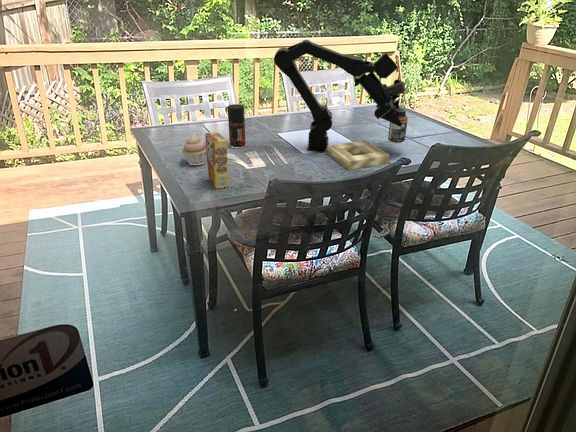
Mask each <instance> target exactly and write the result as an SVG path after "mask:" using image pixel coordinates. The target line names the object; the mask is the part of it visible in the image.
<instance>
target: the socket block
mask: <svg viewBox="0 0 576 432" xmlns="http://www.w3.org/2000/svg"><path fill="white" fill-rule="evenodd" d="M326 154H327V155H328V156H329V157H331V158H332V159H333V160H334V161H336V162H337V163H339V164H340V165H341V166H342V167H343V168H345V169H346V170H348V171H350V170H357V169H362V168H368V167H375V166H381V165H386V164H389V163H390V154H389V153H387V152H385V151H384V150H383V149H381V148H379V147H378V146H376V145H374V144H373V143H371V142H369V141H367V140H359V141H351V142H345V143H339V144H331V145H328V146H327V149H326Z"/></svg>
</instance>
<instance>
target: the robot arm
mask: <svg viewBox="0 0 576 432" xmlns="http://www.w3.org/2000/svg"><path fill="white" fill-rule="evenodd" d="M304 55H309V56H312V57H314V58H316V59H319V60H321V61H325V62H327V63H330V64H332V65H335V66H337V67H339V68H340V69H342V70H343V71H345V72H346V73H348V74H349V75H351V76H352V77H355V78H354V85H353V86H354V87H355V88H356V87H357V86H359V85H361V87H362V88H363V89H364V91H366V93H367V94H368V96H369V97H368V99H370V100H369V101H371V100H373V102H374V104H375V105H376V106H375V107H376V109H375V110H374V117H375V118H376V119H377V120H379V119H382V120H385V121H387V122H389V123H390V122H391V123H393V124H395V125H397V126H399V127H400V126H402V123H401V121H400V119H399V118H398V116H397V114H396V112H395V109H396V108H401V107H400V100H401V98H400V97H401V94H404V93H406V91H407V90H406V86H405V85H406V83H405V82H404V80H401V79H400V78H398V79H394V80H393V84H390V85H387V84H386V83H382V82H381V80H380V79H387V78H388V77H390V76H391V75H392V74H393V73H394V72H396V70H398V69H399V66H398V65H397V63H396V62H395V61H394V59H392V58H391V57H390V56H389V55H388V53H387V52H384V53H383V54H381V56H380V57H379V58H378V59H376V61H374V62H373V61H368V60H364V59H363V58H362V57H361V56H358V55H354V54H345V53H340V52H338V51H335V50H333V49H330V48H328V47H325V46H323V45H320V44H317V43H315V42H312V41H311V40H310V39H303V40H302V41H300V42H298V43H296V44H293V45H290V46H288V47H280V48H278V49H277V51H275V54H274V57H273V61H274V64H275V65H276V67H278V68H279V70H280V71H281V72H282V73H283V74H284V75H285V76H287V77H288V78H289V80H290V82H291V83H292V84H293V86H294V88H295V89H296V90H297V92H298V94H299V95H300V97H301V98H302V100H303V102H304V103H305V104H306V106H307V107H308V109H309V111H310V113H311V116H312V120H313V121H312V122H310V127H309V129H310V130H309V132H308V142H307V144H308V147H306V151H310V152H311V151H312V152H319V153H324V152H325V151H327V146H329V136H328V131H329V130H330V129H332V127H333V113H332V111H331V110H330V109H329V108H328V105H327V104H324V105H322V104H321V103H320V102H319V100H318V99H317V97H316V96H315V94H314V93H313V91H312V90H311V88H310V86H309V85H308V83H307V81H306V80H305V78H304V77H303V75H302V74H301V72H300V70H299V68H298V66H297V63H296V60H297V59H299V58H302V56H304ZM375 73H376V74H375ZM377 76H378V77H377Z"/></svg>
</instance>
